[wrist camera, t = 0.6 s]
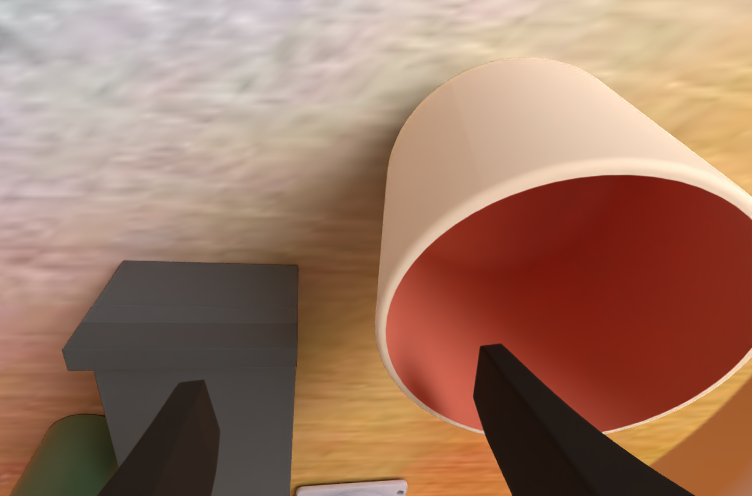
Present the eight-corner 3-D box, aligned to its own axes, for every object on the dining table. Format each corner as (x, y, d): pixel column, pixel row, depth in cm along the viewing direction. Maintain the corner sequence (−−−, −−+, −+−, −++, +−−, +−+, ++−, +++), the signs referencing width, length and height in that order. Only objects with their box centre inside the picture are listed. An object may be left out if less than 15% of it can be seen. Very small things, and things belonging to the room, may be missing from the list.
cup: (344, 134, 19) (297, 284, 11) (575, -9, 15) (766, 55, 7) (450, 285, 23) (472, 469, 15) (645, 203, 20) (808, 386, 12)
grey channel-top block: (291, 426, 27) (289, 525, 22) (154, 432, 26) (117, 540, 21) (298, 264, 21) (297, 348, 16) (123, 259, 20) (60, 350, 15)
